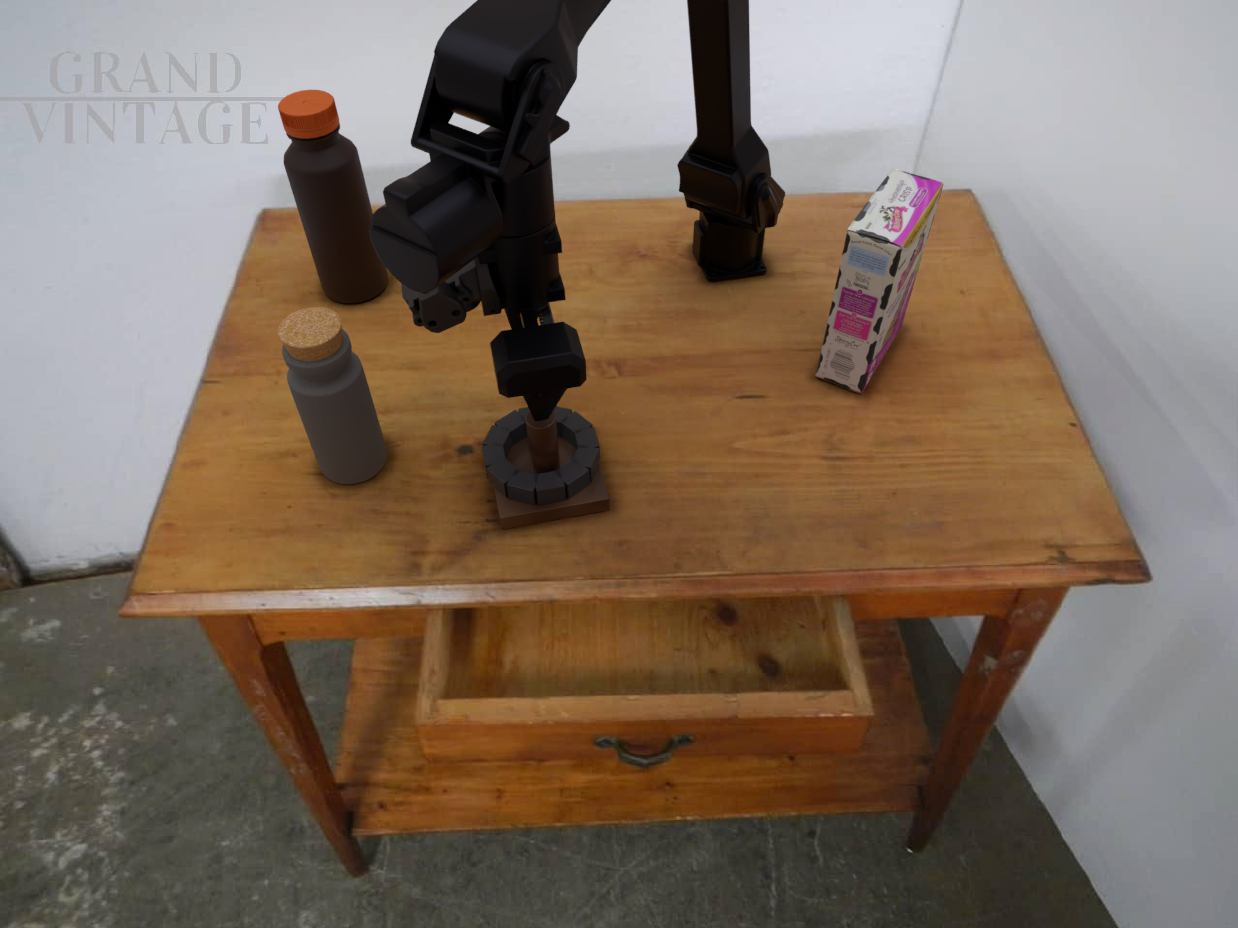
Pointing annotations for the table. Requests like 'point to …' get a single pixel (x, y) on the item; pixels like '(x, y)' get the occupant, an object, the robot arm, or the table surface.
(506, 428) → the ring
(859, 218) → the candy bar box
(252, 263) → the table surface
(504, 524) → the peg stand
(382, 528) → the table surface
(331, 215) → the vinegar
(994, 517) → the table surface
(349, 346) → the bottle
